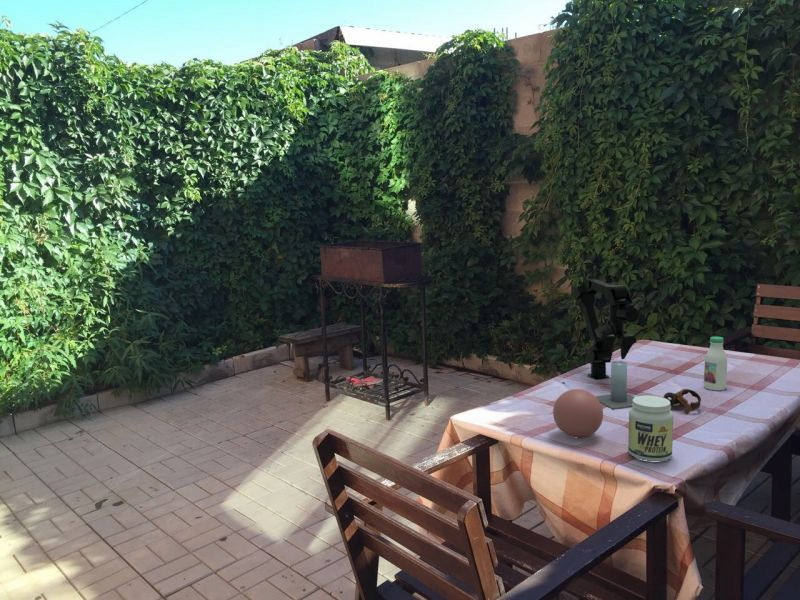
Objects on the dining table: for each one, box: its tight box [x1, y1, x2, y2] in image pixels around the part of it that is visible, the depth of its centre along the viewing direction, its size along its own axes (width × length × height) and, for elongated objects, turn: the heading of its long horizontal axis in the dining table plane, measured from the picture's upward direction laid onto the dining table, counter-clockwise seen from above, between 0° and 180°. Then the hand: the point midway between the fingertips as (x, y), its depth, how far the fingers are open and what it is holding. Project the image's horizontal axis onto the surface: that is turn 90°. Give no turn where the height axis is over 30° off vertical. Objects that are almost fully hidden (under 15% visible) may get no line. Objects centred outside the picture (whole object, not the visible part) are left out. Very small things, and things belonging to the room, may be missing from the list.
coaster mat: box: [594, 393, 636, 410], centre depth 237 cm, size 14×14×1 cm
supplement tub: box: [627, 395, 674, 462], centre depth 188 cm, size 12×12×17 cm
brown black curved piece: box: [663, 388, 702, 415], centre depth 225 cm, size 12×10×8 cm
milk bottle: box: [703, 336, 728, 392], centre depth 245 cm, size 8×8×20 cm
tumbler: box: [610, 360, 628, 402], centre depth 236 cm, size 6×6×14 cm
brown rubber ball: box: [552, 388, 604, 439], centre depth 207 cm, size 15×20×15 cm
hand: (616, 356), depth 253 cm, fingers open, 9 cm apart
